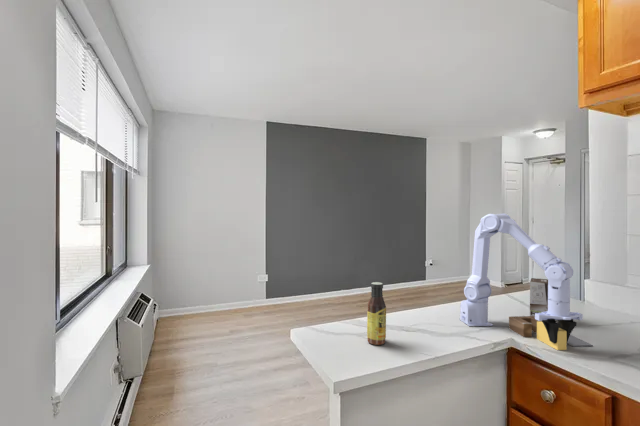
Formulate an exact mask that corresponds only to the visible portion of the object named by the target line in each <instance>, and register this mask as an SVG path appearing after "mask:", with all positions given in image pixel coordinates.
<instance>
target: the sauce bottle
mask: <svg viewBox="0 0 640 426" xmlns="http://www.w3.org/2000/svg"><path fill="white" fill-rule="evenodd" d="M370 288H371V291H370V292H371V294H370V295H371V296H370V298H369V299H368V301H367V313H366V314H367V316H366V318H367V319H366V333H367V334H366V337H367V338H366V339H367V342H368V343H369V344H370V345H374V346H381V345H384V344H385V342H386V338H387V306H386V303H385V299H384V297H383V296H384V295H383V288H384V284H383V282H379V281H375V282H374V281H373V282H371V283H370Z"/></svg>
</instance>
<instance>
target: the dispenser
mask: <svg viewBox="0 0 640 426" xmlns="http://www.w3.org/2000/svg"><path fill="white" fill-rule="evenodd" d="M537 322H540V321H538V320H536V319H535V316H530V315H527V316H524V315H522V316H520V315H519V316H508V329H509V330H511V331H512V332H514V333H516V334H517V335H520V336H521V337H523V338H532V336H533V333H535V334H537Z"/></svg>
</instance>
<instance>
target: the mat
mask: <svg viewBox="0 0 640 426" xmlns="http://www.w3.org/2000/svg"><path fill="white" fill-rule="evenodd" d="M567 345H568V346H570V347H572V348H582V347H594V344H592V343H590V342H587V341H585V340H583V339H582V338H581V339H580V338H579V337H577V336H575V335H573V334H570V336H569V339H568V342H567Z"/></svg>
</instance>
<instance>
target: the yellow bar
mask: <svg viewBox="0 0 640 426" xmlns="http://www.w3.org/2000/svg"><path fill="white" fill-rule="evenodd" d="M536 339H537V340H538V341H540V342H542V343H544V344H545V345H547V346H549V347H551V348H553V349H555V350H557V351H567V345H568V344H567V331H565V330H563V329H561V328H559V329H558V334H557V343H552V342H551V341H550V340H549V336H548V333H547V330H546V328H545V326H544V324H543V322H542V321H540V322H537V333H536Z"/></svg>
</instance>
